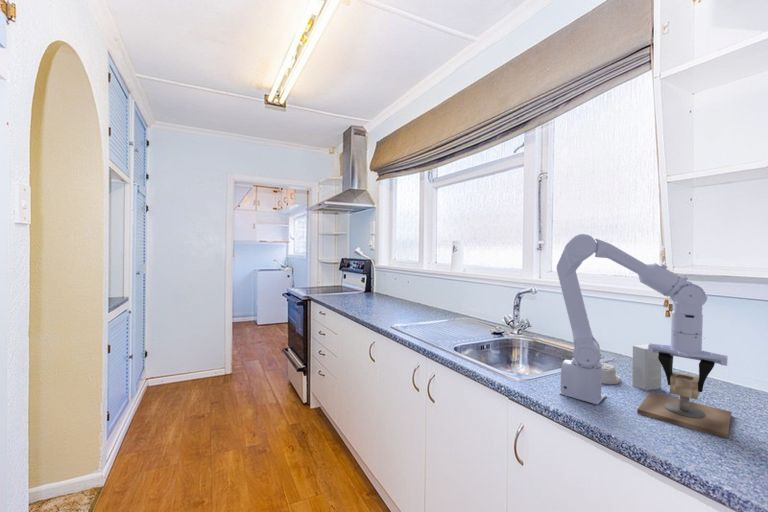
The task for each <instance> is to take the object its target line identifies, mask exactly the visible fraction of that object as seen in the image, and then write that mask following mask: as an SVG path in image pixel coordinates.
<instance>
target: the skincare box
mask: <svg viewBox="0 0 768 512" xmlns="http://www.w3.org/2000/svg"><path fill="white" fill-rule="evenodd" d="M649 344H650V343H649ZM649 344H648V343H646V344H637V345H632V380H631V381H632V386H633V387H636V388H639V389H640V390H643V391H647V392H648V391H652V390H660V389H662V365H661V363H660V361H659V359H658V356H659V353H655V352H654V353H651V352H648V345H649Z"/></svg>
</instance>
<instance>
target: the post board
mask: <svg viewBox="0 0 768 512" xmlns="http://www.w3.org/2000/svg"><path fill="white" fill-rule="evenodd" d="M637 414H639V415H642V416H646V417H649V418H653V419H656V420H660V421H663V422H667V423H671V424H674V425H678V426H681V427H685V428H687V429H688V428H689V429H692V430H695V431H698V432H702V433H705V434H706V433H707V434H709V435H712V436H716V437H720V438H724V439H726V440H727V439H728V438H729V431H730V426H731V420H732V411H729V410H725V409H721V408H718V407H714V406H710V405H704V404H702V403H697V402H693V401H690V398H688V397H684V396H680V395H679V398H677V397H673V396H668V395H665V394H660V393H655V392H652V391H649V393H648V394H647V395H646V397H645V399H644V400H643V401H642V402H641V404H640V405H639V406H638V408H637Z"/></svg>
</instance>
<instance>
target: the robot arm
mask: <svg viewBox="0 0 768 512" xmlns="http://www.w3.org/2000/svg"><path fill="white" fill-rule="evenodd" d="M594 254H595V255H594ZM593 255H594V257H595V258H601V259H602V258H603V259H607V260H608V259H609V260H610V261H612V262H614V263H616V264H617V265H620V266H622V267H624V268H626V269H628V270H629V271H631V272H633V273H635V274H637V275H638V280H639V282H640V283H642V284H643V285H645V286H647V287H649V288H651V289H652V290H653V291H656V292H658V294H661V295H663V296H665V297H669V298H670V299H671V301H672V311H671V328H670V329H671V330H670V345H667V344H657V343H651V342H650V343H649V345H648V352H651V353H654V352H655V353H659V356H658V359H659V361H660V363H661V368H663V369H662V370H664V371H663V372H664V373H665V377H666V380H667V385H668V386H670V377H671V375H672V374H673V372H674V371H673V368H674V367H673V366H674V365H673V363H674V357H679V358H683V359H684V358H685V359H689V360H690V359H691V360H694V361H695V360H696V361H699V363H698V377H699V383H698V392H700V393H703V391H704V384H705V381H706V379H707V378H708V376H709V374H710V373H711V371H712V370H713V369H714V367H715V364H718V365H721V366H728V355H725V354H720V353H716V352H711V351H705V350H702V349H703V345H702V344H703V317H704V316H703V315H704V314H703V305H705V303H706V302H707V300H708V296H707V294H706V292H705V291H704V289H703V287H701V286H700V285H698V284H695V283H692V282H691V281H688V277H687V276H685V275H682V276H680V275H678V274H677V273H676V272H675V273H674V272H673V271H671V270H669V269H668V266H667V265H665V264H663V263H660V264H658V263H656V262H655V263H653V262H652V263H647V264H646V263H644V262H642V261H640V259H637V258H636V257H634V256H632V255H631V254H628V253H627V252H626V251H623V250H621V249H620V248H618V247H616V245H613V244H611V243H609V242H606V241H604V240H601V239H598V238H594V237H592V236H591V235H589V234H585V233H580V234H577V235H575V236H573V237H572V238H571V239H570V240H569V241H568V242H567V243H566V245H564V249H563V250H562V253H561V255H560V257H559V260H558V262H557V263H556V273H557V276H558V280H559V284H560V288H561V293H562V297H563V300H564V304H565V308H566V311H567V315H568V320H569V324H570V328H571V332H572V340H573V351H572V355H573V356H572V358H571V360H570V359H565V360H563V361H562V363H561V368H560V391H559V394H560V395H562V396H566V397H570V398H571V399H572V398H573V399H576V400H579V401H583V402H587V403H591V404H593V405H599V404H600V403H601V402H602V401H603V400H604V399H606V397H607V394H606V393H602V383H601V380H602V364H601V363H602V362H601V357H602V356H601V352H600V349H601V347H600V344H599V342H598V341H597V340H596V339H595V338H594V335H593V332H592V329H591V326H590V321H589V318H588V313H587V309H586V306H585V305H586V304H585V302H584V298H583V295H582V294H583V293H582V290H581V285H580V283H579V279H578V275H577V270H578V268H579V267H580V266H581V265H582V263H583V262H584V261H585V260H587V259H588V258H591V256H593ZM600 362H601V363H600Z"/></svg>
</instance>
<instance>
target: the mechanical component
mask: <svg viewBox="0 0 768 512" xmlns="http://www.w3.org/2000/svg"><path fill="white" fill-rule="evenodd" d="M599 362H600V363H601V364H602V380H601V384H604V385H617V384H620V383H621V377H620V376H619V374H617V373H616V371H617V369H616V367H615V366H614V365H613V364H610V363H605V362H602V361H599Z"/></svg>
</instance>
